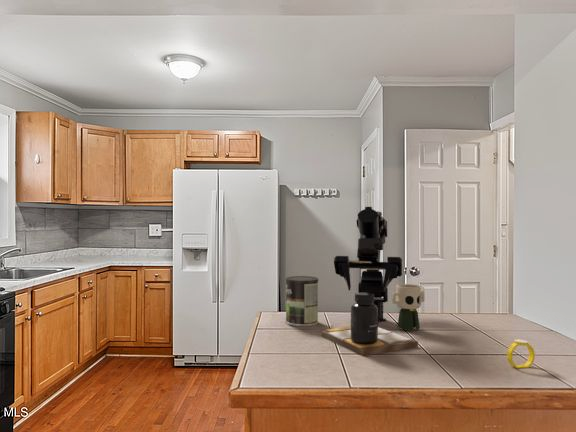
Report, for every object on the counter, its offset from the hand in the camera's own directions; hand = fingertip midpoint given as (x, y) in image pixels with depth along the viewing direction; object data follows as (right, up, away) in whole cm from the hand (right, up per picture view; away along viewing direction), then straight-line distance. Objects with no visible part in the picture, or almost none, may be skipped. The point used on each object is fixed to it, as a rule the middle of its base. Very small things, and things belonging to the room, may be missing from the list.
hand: (366, 290), depth 122 cm
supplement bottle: (-2, -12, -8) cm, 14 cm away
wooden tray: (0, -14, -1) cm, 14 cm away
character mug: (+14, -14, +11) cm, 23 cm away
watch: (+31, -14, -22) cm, 40 cm away
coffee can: (-17, -14, +21) cm, 30 cm away
